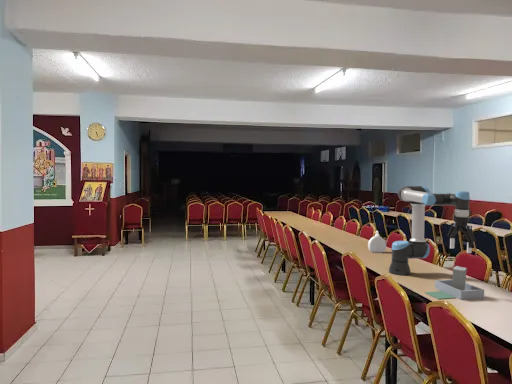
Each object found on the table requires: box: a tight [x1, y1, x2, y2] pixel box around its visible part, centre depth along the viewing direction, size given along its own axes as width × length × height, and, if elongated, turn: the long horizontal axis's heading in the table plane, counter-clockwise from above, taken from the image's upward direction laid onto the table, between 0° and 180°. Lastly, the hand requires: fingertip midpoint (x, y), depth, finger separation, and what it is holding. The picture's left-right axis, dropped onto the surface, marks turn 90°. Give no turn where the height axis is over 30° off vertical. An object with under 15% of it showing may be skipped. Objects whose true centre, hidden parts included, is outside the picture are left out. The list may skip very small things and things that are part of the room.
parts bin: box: [434, 279, 485, 301], centre depth 225 cm, size 22×16×5 cm
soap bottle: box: [367, 230, 387, 254], centre depth 344 cm, size 16×5×20 cm, turn 94°
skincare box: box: [451, 265, 468, 291], centre depth 225 cm, size 8×7×16 cm
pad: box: [424, 290, 456, 300], centre depth 220 cm, size 12×12×1 cm
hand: (460, 250), depth 224 cm, fingers open, 13 cm apart
